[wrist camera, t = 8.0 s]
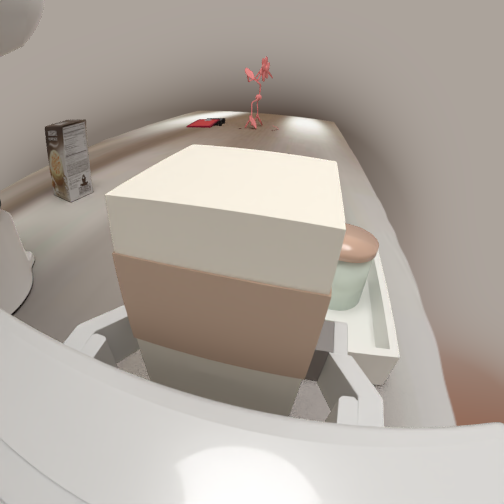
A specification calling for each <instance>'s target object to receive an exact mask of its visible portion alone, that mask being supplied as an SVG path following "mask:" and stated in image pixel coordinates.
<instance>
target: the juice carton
mask: <svg viewBox="0 0 504 504" xmlns="http://www.w3.org/2000/svg"><path fill="white" fill-rule="evenodd" d="M105 200H106V207H107V213H108V219H109V225H110V231H111V236H112V241H113V246H114V252H113V253H112V255H113V260H114V265H115V269H116V273H117V278H118V282H119V286H120V290H121V294H122V298H123V301H124V305H125V309H126V312H127V316H128V319H129V323H130V326H131V329H132V333H133V336H134V337H135V338H137V341H138V345H139V348H140V351H141V354H142V357H143V360H144V363H145V366H146V369H147V372H148V375H149V377H150V380H151V381H153V382H156V383H159V384H162V385H164V386H167V387H171V388H174V389H177V390H180V391H183V392H186V393H190V394H193V395H196V396H200V397H203V398H207V399H211V400H214V401H218V402H222V403H226V404H230V405H234V406H238V407H243V408H247V409H252V410H256V411H261V412H266V413H271V414H277V415H282V416H288V417H289V414H290V412H291V409H292V407H293V404H294V401H295V398H296V396H297V393H298V390H299V388H300V385H301V382H302V379H304V380H305V377H306V374H307V371H308V368H309V366H310V363H311V360H312V357H313V354H314V351H315V348H316V345H317V342H318V339H319V336H320V333H321V330H322V327H323V323H324V320H325V317H326V314H327V310H328V307H329V304H330V300H331V296H332V283H333V279H334V276H335V272H336V268H337V264H338V260H339V256H340V252H341V248H342V244H343V240H344V236H345V232H346V226H345V217H344V209H343V201H342V194H341V187H340V180H339V174H338V167H337V162H335V161H330V160H324V159H318V158H312V157H305V156H299V155H292V154H285V153H277V152H269V151H261V150H252V149H243V148H232V147H221V146H208V145H191V146H189V147H187V148H185V149H183V150H181V151H179V152H177V153H175V154H174V155H172V156H170V157H168V158H166V159H164V160H163V161H161V162H159V163H157V164H155V165H154V166H152V167H150V168H148V169H146V170H145V171H143V172H141V173H140V174H138V175H136V176H134V177H133V178H131V179H129V180H128V181H126V182H124V183H123V184H121V185H120V186H118V187H116V188H115V189H113V190H112V191H110V192H108V193H107V194H105Z"/></svg>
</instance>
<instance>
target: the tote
mask: <svg viewBox="0 0 504 504" xmlns="http://www.w3.org/2000/svg"><path fill="white" fill-rule="evenodd" d="M325 320H331V321H338V322H345V323H347V325H348V355H350V356H352V357H353V358H354V360H355V361H356V363H357V364H358V365H359V367H360V368H361V369H362V371H363V372H364V374H365V375H366V376H367V378H368V379H369V380H370V382H371V383H372V385H383V383H384V382H385V380H386V379H387V377H388V376H389V374H390V373H391V371H392V369H393V368H394V366H395V365H396V363H397V361H398V360H399V358H400V355H399V349H398V342H397V336H396V330H395V325H394V319H393V314H392V309H391V304H390V299H389V294H388V290H387V285H386V281H385V276H384V272H383V268H382V264H381V260H380V256H379V252H378V251H377V254H376V257H375V258H374V259H373V261H372V264H371V267H370V270H369V274H368V277H367V280H366V283H365V286H364V289H363V292H362V295H361V298H360V300H359V303H358V304H357V305H356V306H355V307H353V308H351V309H348V310H342V311H337V310H331V309H328V310H327V314H326V317H325Z"/></svg>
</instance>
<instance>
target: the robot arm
mask: <svg viewBox="0 0 504 504" xmlns="http://www.w3.org/2000/svg"><path fill="white" fill-rule="evenodd" d="M43 9H44V0H0V57H1V56H4V55H6V54H8V53H10V52H12V51H14V50H16V49H18V48H20V47H22V46H24V44H25V43H26V42H27V41H28V40H29V39H30V37H31V36H32V34H33V33H34V31H35V30H36V28H37V26H38V24H39V22H40V19H41V17H42V13H43ZM0 207H1V201H0ZM34 260H35V258H34V256H33V254H32V252H30V251H25V250H24V247H23V245H22V242H21V240H20V237H19V235H18V232H17V230H16V227H15V224H14V222H13V219H12V216H11V214H10V213H9V212H6V211H3V210H2V209H1V208H0V504H504V424H503V423H499V422H496V423H495V422H494V423H485V424H477V425H466V426H450V427H418V428H410V427H384V419H383V398H382V397H381V396H380V394H379V393H378V392H377V390H376V389H375V387H374V386H373V385H372V383H371V382H370V380H369V379H368V378H367V376H366V375H365V374H364V372H363V371H362V369H361V368H360V367H359V365H358V364H357V363H356V361H355V360H354V358H353V357H352V356H350V355H348V325H347V323H345V322H338V321H331V320H324V323H323V327H322V330H321V333H320V336H319V339H318V342H317V345H316V348H315V351H314V354H313V357H312V360H311V363H310V366H309V368H308V371H307V374H306V377H305V379H306V380H312V381H317V384H318V386H319V388H320V390H321V392H322V394H323V396H324V398H325V400H326V402H327V404H328V406H329V408H330V410H331V413H330V414H329V416H328V417H327V419H326V421H325V422H322V421H314V420H307V419H300V418H294V417H288V416H282V415H277V414H271V413H266V412H261V411H256V410H252V409H247V408H243V407H238V406H234V405H230V404H226V403H222V402H218V401H214V400H211V399H207V398H203V397H200V396H196V395H193V394H190V393H186V392H183V391H180V390H177V389H174V388H171V387H167V386H164V385H162V384H159V383H156V382H153V381H150V380H147V379H144V378H142V377H139V376H136V375H134V374H131V373H128V372H126V371H123V370H121V369H119V368H118V366H117V363H118V362H120V361H122V360H123V359H125V358H126V357H128V356H129V355H131V354H132V353H134V352H136V351H137V350H139V349H140V348H139V345H138V341H137V338H135V337H134V336H133V333H132V329H131V326H130V323H129V319H128V316H127V312H126V309H125V305H123V306H121V307H118V308H116V309H114V310H111V311H109V312H107V313H104V314H102V315H100V316H97V317H95V318H93V319H91V320H88V321H86V322H84V323H81V324H79V325H78V326H77V327H76V328H75V329H74V331H73V332H72V333H71V334H70V336H69V337H68V338H67V339H66V340H65V342H64V343H61V342H59V341H57V340H55V339H53V338H51V337H49V336H47V335H45V334H44V333H42V332H40V331H38V330H36V329H34V328H33V327H31V326H29V325H27V324H26V323H24V322H22V321H21V320H19V319H17V318H15V317H14V316H12V315H11V314H12V313H13V312H14V311H15V310H16V309H17V308H18V307H19V306H20V305H21V303H22V302H23V301H24V299H25V298H26V296H27V295H28V293H29V291H30V289H31V286H32V282H33V275H32V271H31V268H32V265H33V263H34Z"/></svg>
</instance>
